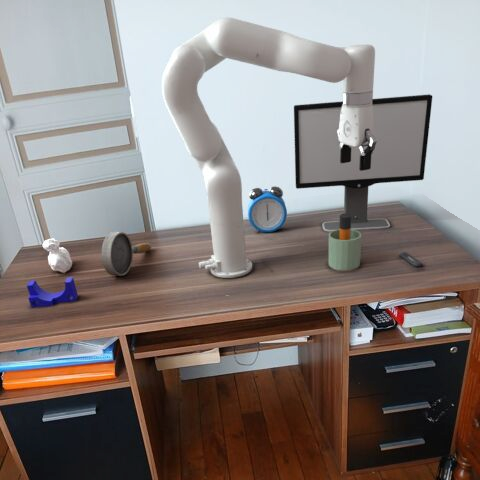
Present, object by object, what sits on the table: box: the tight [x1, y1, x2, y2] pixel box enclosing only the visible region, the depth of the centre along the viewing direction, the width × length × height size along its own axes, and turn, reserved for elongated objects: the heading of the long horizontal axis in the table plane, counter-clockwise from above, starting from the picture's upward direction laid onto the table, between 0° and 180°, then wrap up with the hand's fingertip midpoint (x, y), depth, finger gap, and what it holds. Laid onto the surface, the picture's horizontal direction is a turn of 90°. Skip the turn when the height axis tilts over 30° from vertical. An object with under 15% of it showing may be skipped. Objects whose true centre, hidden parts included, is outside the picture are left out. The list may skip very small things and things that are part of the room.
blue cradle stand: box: [26, 276, 79, 308], centre depth 140 cm, size 12×4×6 cm, turn 92°
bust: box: [41, 237, 73, 274], centre depth 159 cm, size 12×8×11 cm
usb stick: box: [398, 251, 424, 269], centre depth 144 cm, size 10×3×2 cm, turn 14°
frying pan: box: [101, 231, 152, 277], centre depth 157 cm, size 13×3×25 cm
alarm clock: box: [247, 185, 288, 234], centre depth 172 cm, size 13×6×15 cm, turn 91°
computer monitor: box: [293, 93, 433, 233], centre depth 163 cm, size 41×8×40 cm, turn 88°
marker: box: [338, 213, 351, 240], centre depth 143 cm, size 3×3×14 cm
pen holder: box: [327, 229, 362, 271], centre depth 145 cm, size 9×9×10 cm
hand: (354, 166), depth 139 cm, fingers open, 9 cm apart
